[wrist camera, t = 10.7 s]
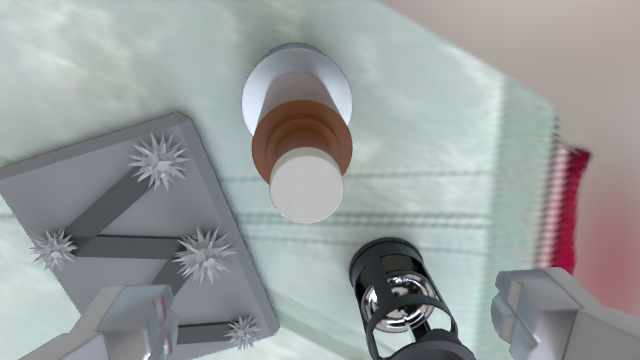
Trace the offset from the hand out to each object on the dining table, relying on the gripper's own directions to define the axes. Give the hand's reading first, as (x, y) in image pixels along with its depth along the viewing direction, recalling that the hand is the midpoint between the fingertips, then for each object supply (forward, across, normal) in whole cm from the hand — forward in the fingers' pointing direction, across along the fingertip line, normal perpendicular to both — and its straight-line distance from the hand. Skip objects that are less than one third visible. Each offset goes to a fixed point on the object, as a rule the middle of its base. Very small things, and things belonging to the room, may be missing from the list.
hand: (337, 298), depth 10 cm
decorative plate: (+34, +18, +20) cm, 43 cm away
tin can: (+34, +1, 0) cm, 34 cm away
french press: (+34, -10, +24) cm, 43 cm away
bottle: (+25, +1, 0) cm, 25 cm away
